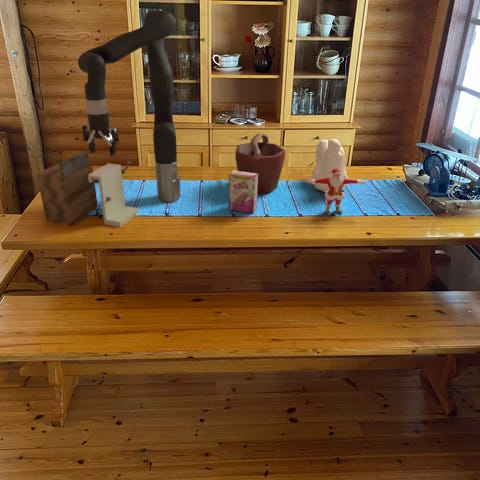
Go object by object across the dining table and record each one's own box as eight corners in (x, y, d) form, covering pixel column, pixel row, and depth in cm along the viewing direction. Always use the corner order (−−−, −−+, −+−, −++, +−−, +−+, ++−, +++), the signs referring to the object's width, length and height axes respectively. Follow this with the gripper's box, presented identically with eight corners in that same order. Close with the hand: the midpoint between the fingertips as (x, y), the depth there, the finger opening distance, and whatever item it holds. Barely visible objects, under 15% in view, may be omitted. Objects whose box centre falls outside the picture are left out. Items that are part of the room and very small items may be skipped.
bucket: (266, 201, 211) (268, 146, 199) (223, 191, 220) (223, 138, 208) (289, 183, 229) (292, 132, 217) (248, 175, 239) (250, 125, 227)
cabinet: (98, 207, 203) (90, 150, 191) (71, 225, 188) (60, 165, 176) (74, 203, 206) (64, 147, 194) (46, 221, 191) (34, 161, 179)
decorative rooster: (350, 197, 216) (357, 143, 204) (315, 197, 215) (320, 143, 204) (338, 177, 238) (344, 127, 226) (306, 177, 237) (311, 127, 226)
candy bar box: (228, 210, 202) (228, 173, 194) (232, 205, 206) (232, 169, 198) (253, 214, 199) (254, 177, 191) (257, 209, 203) (258, 173, 195)
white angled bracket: (138, 212, 199) (133, 166, 190) (120, 226, 187) (114, 178, 178) (114, 208, 202) (108, 163, 193) (94, 222, 191) (87, 174, 181)
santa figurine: (303, 214, 200) (307, 171, 191) (302, 208, 205) (305, 166, 196) (363, 214, 200) (370, 172, 191) (360, 208, 205) (366, 167, 196)
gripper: (119, 110, 177) (124, 153, 184) (87, 107, 181) (92, 148, 188) (108, 115, 170) (113, 159, 178) (74, 111, 174) (81, 154, 182)
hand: (102, 153), depth 183 cm, fingers open, 8 cm apart
